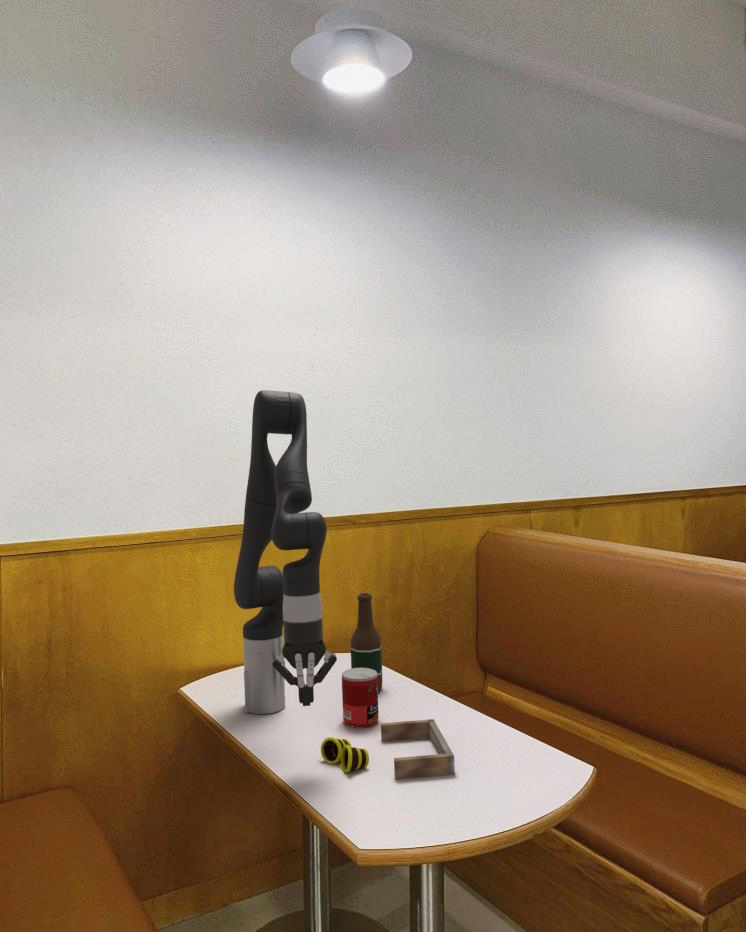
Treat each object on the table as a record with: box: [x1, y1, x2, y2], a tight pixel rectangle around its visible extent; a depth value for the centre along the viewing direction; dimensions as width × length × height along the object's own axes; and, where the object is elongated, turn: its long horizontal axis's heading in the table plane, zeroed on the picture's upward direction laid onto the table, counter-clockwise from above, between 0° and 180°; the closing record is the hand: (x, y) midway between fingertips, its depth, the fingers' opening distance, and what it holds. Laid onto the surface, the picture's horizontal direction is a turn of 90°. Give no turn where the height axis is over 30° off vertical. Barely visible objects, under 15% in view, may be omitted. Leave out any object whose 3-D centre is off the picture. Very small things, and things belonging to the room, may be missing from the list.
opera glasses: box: [320, 736, 370, 774], centre depth 152 cm, size 10×5×5 cm, turn 39°
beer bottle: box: [350, 592, 383, 694], centre depth 193 cm, size 8×8×24 cm
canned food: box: [341, 668, 380, 728], centre depth 173 cm, size 8×8×11 cm
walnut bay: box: [380, 718, 456, 780], centre depth 155 cm, size 11×18×4 cm, turn 8°
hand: (306, 704), depth 151 cm, fingers closed
